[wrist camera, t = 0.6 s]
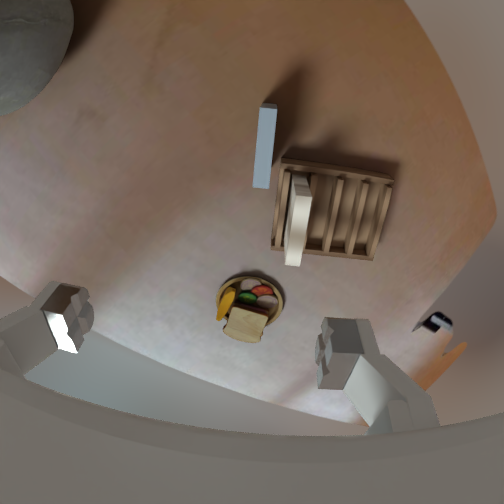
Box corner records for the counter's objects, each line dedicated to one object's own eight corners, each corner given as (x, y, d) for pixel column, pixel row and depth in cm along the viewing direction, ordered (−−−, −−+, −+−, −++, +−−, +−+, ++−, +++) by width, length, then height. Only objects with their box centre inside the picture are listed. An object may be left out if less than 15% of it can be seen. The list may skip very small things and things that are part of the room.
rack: (281, 157, 46) (283, 177, 37) (387, 174, 46) (412, 197, 37) (270, 240, 53) (270, 275, 44) (368, 251, 53) (384, 286, 44)
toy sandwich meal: (294, 288, 58) (296, 305, 54) (262, 335, 65) (261, 351, 60) (231, 262, 56) (228, 278, 52) (206, 313, 62) (201, 330, 58)
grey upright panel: (262, 102, 42) (259, 107, 34) (276, 104, 42) (277, 109, 34) (256, 167, 47) (252, 187, 39) (269, 169, 47) (268, 188, 39)
